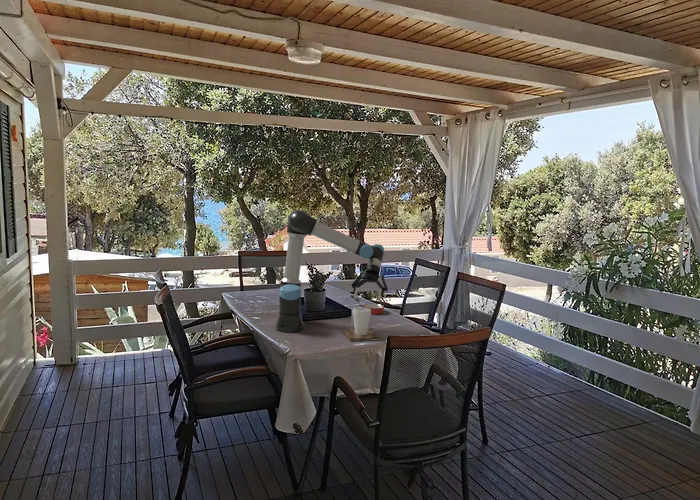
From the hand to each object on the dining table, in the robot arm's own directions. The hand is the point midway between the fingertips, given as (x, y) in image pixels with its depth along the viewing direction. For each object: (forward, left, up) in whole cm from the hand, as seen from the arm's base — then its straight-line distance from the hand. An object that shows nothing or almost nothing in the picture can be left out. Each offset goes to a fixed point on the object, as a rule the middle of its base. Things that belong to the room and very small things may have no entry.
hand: (366, 299), depth 264 cm
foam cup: (-5, -8, -17) cm, 19 cm away
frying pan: (+14, +49, -18) cm, 55 cm away
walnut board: (-5, -8, -18) cm, 20 cm away
